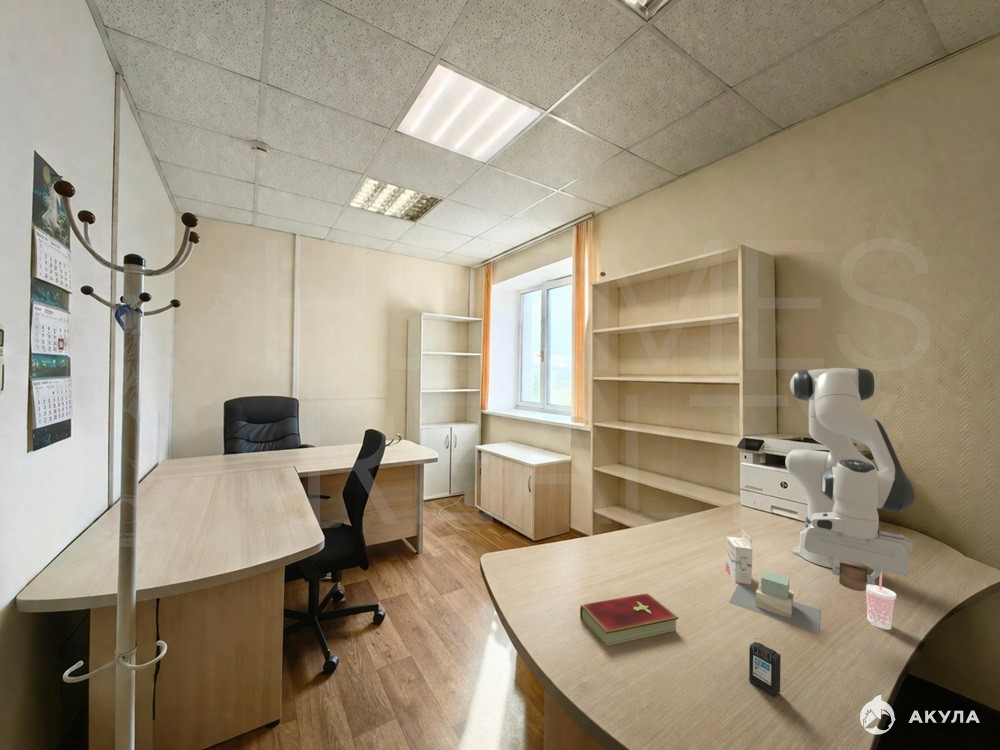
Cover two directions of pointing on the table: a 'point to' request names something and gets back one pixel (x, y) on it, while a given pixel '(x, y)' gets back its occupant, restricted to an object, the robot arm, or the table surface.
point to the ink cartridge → (764, 668)
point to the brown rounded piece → (853, 576)
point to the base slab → (775, 603)
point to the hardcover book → (628, 618)
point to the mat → (800, 614)
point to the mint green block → (775, 585)
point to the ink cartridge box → (739, 558)
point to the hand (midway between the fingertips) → (852, 579)
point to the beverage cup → (880, 605)
